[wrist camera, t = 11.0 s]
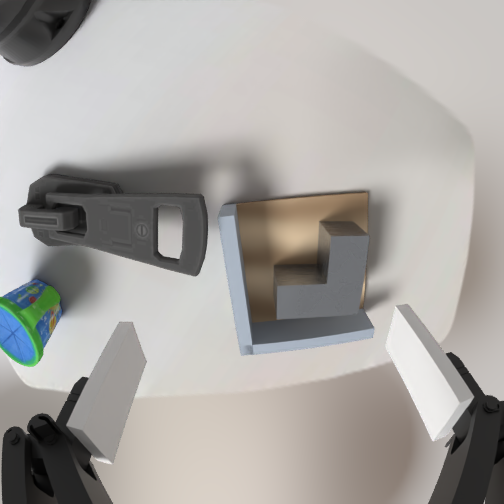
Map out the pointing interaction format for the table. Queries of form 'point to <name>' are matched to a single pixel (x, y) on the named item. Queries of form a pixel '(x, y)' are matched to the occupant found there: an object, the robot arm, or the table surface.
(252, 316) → the cork mat
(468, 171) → the table surface
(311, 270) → the angle bracket
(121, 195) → the zipper pull
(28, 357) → the snack cup
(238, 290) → the corner walls
